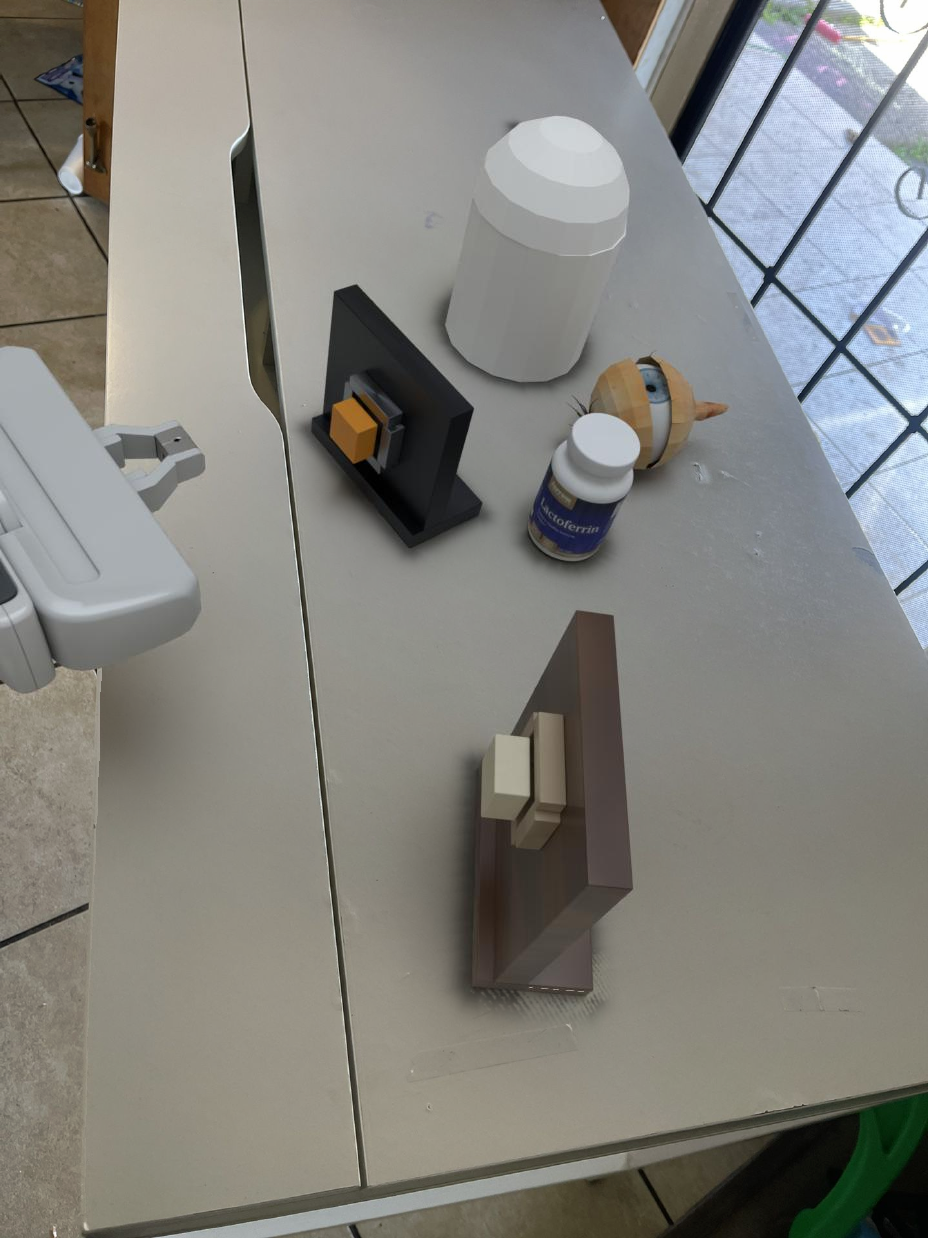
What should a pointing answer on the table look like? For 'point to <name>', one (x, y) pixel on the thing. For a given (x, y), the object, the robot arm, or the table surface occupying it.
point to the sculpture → (651, 406)
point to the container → (538, 249)
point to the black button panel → (397, 421)
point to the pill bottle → (584, 487)
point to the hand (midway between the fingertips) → (192, 445)
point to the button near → (505, 777)
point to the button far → (353, 430)
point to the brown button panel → (557, 827)
